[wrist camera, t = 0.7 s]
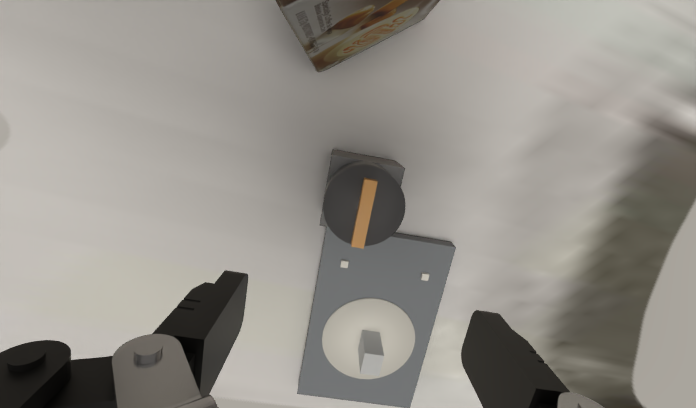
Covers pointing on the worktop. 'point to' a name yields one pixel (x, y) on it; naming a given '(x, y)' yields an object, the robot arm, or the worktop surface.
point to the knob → (363, 198)
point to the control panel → (373, 318)
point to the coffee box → (348, 25)
